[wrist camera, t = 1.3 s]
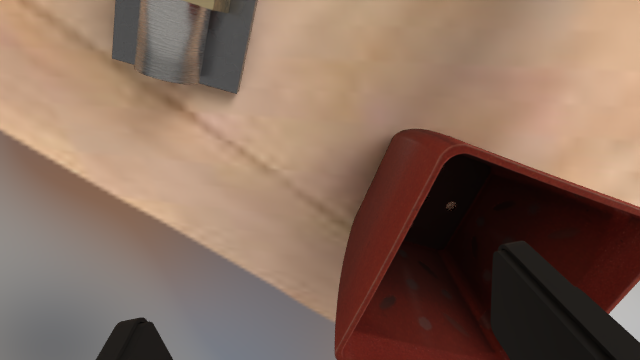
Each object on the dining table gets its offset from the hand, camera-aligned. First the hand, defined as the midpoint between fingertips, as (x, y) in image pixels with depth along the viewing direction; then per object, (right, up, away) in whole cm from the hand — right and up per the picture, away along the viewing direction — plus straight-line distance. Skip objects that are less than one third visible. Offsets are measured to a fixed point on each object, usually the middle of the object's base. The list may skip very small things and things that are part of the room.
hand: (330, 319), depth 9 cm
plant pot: (+11, +2, +31) cm, 33 cm away
